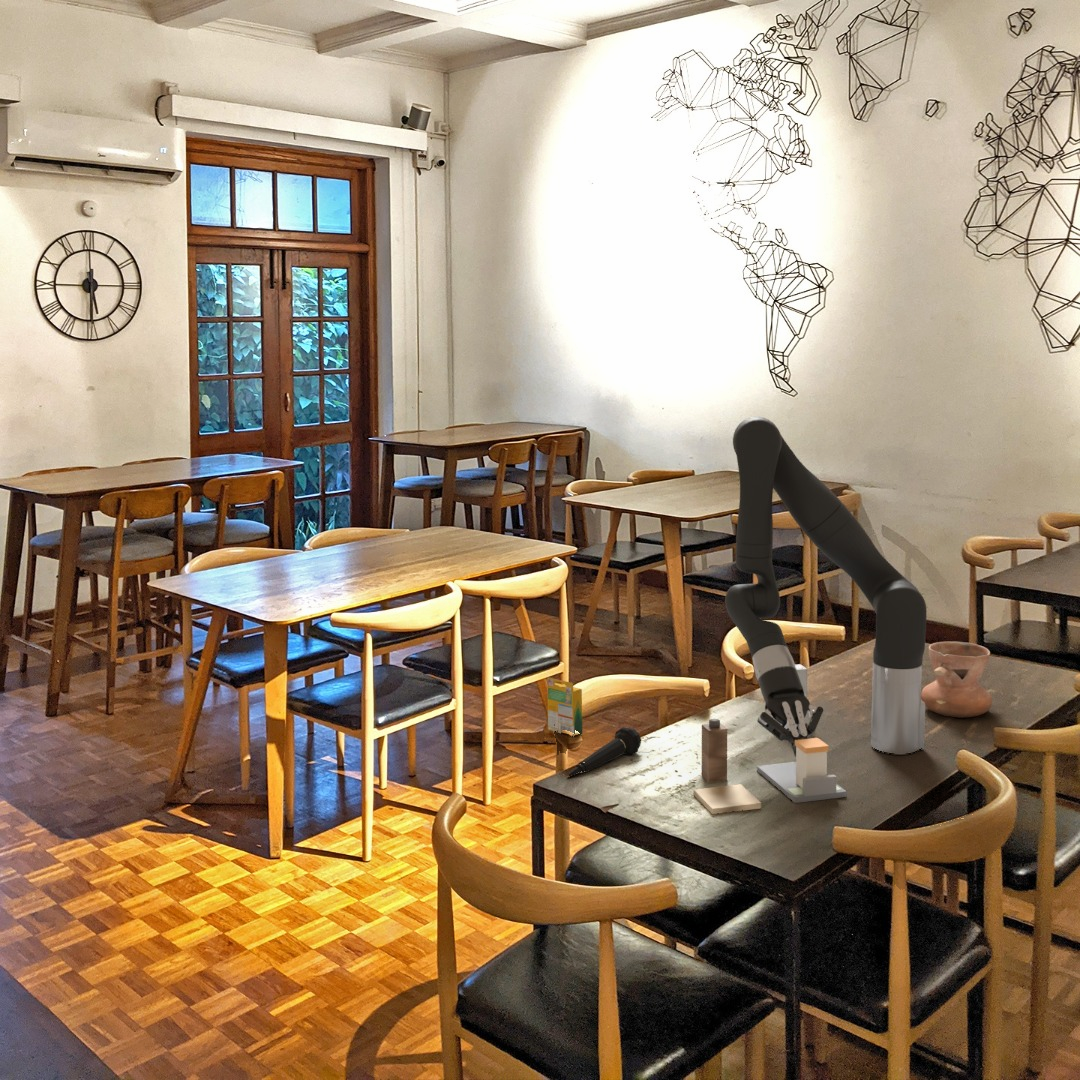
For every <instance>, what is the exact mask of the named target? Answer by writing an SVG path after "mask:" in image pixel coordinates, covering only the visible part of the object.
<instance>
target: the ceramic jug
mask: <svg viewBox="0 0 1080 1080" xmlns="http://www.w3.org/2000/svg"><path fill="white" fill-rule="evenodd" d="M990 655H991V651H990V650H989V649H988V648H987V647H985V646H982V645H979V644H977V643H972V642H963V641H939V642H938V641H937V642H934V643H931V644H929V646H928V656H929V659H930V663H931V667H932V668H931V669H932V670H933V673H934V675H935V677H936V679H935V680H934V681H932V682H931V683H929V684H927V685H926V686H924V687H923V689H921V701H923V702H925V708H927V709H928V710H929V711H931V712H932V713H933V712H934V713H936V714H938V715H941V716H945V717H950V716H951V718H972V717H977V716H981V715H983V714H985V713H987V712H988V711H990V709H991V708H992V705H993V698H992V695H990V693H989V692H988V691H987V690H985V689H984V687H982V686H981V685H979V683H978V682H979V680H980V679H981V678H982V676H983V673H984V671H985V669H986V667H987V665H988V662H989V659H990Z"/></svg>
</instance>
